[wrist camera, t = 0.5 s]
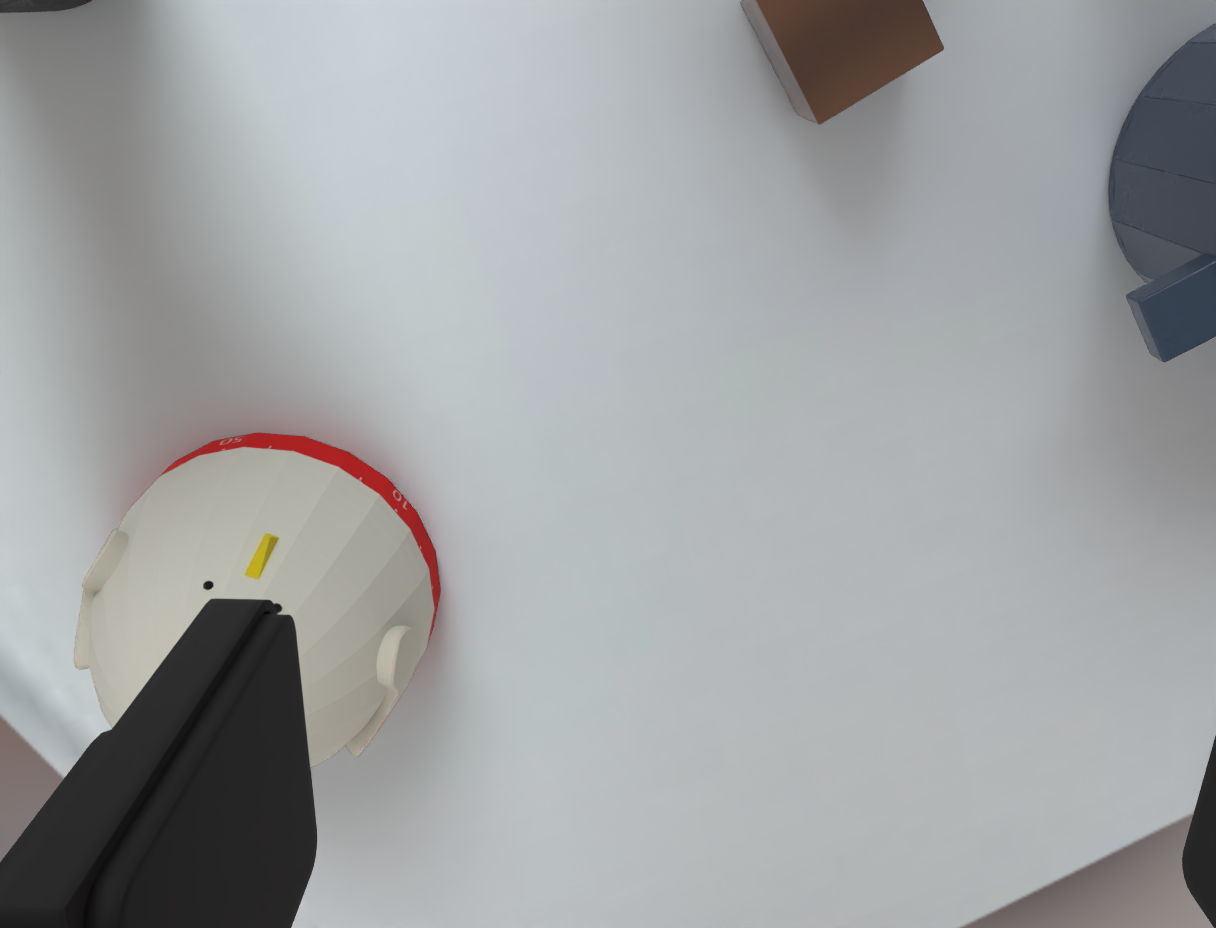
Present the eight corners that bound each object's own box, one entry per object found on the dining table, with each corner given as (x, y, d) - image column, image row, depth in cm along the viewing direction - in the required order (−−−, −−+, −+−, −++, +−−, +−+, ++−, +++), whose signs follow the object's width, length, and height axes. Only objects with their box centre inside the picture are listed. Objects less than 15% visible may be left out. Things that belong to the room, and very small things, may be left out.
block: (739, 1, 38) (753, -3, 34) (854, -72, 37) (884, -87, 33) (797, 116, 39) (819, 125, 35) (909, 47, 38) (945, 49, 34)
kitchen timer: (481, 499, 45) (420, 702, 32) (389, 742, 50) (301, 1011, 36) (165, 387, 44) (-47, 550, 30) (102, 651, 49) (-106, 896, 35)
